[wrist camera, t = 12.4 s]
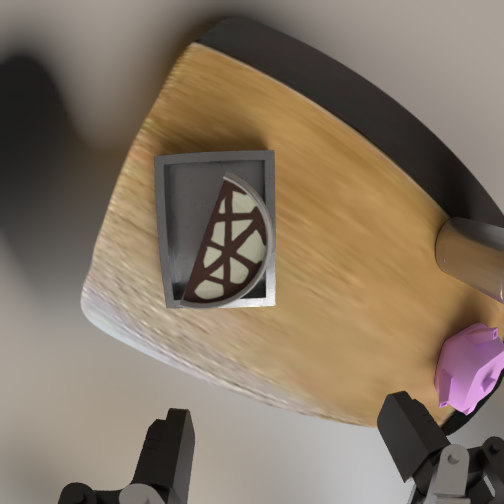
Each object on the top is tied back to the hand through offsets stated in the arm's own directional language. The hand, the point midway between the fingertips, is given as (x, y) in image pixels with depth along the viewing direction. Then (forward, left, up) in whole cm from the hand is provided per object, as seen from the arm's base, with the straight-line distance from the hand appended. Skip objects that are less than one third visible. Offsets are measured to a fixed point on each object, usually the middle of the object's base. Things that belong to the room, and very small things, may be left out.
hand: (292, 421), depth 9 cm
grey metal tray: (+4, -4, -25) cm, 25 cm away
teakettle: (-41, +22, -25) cm, 53 cm away
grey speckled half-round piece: (+2, -3, -24) cm, 24 cm away
